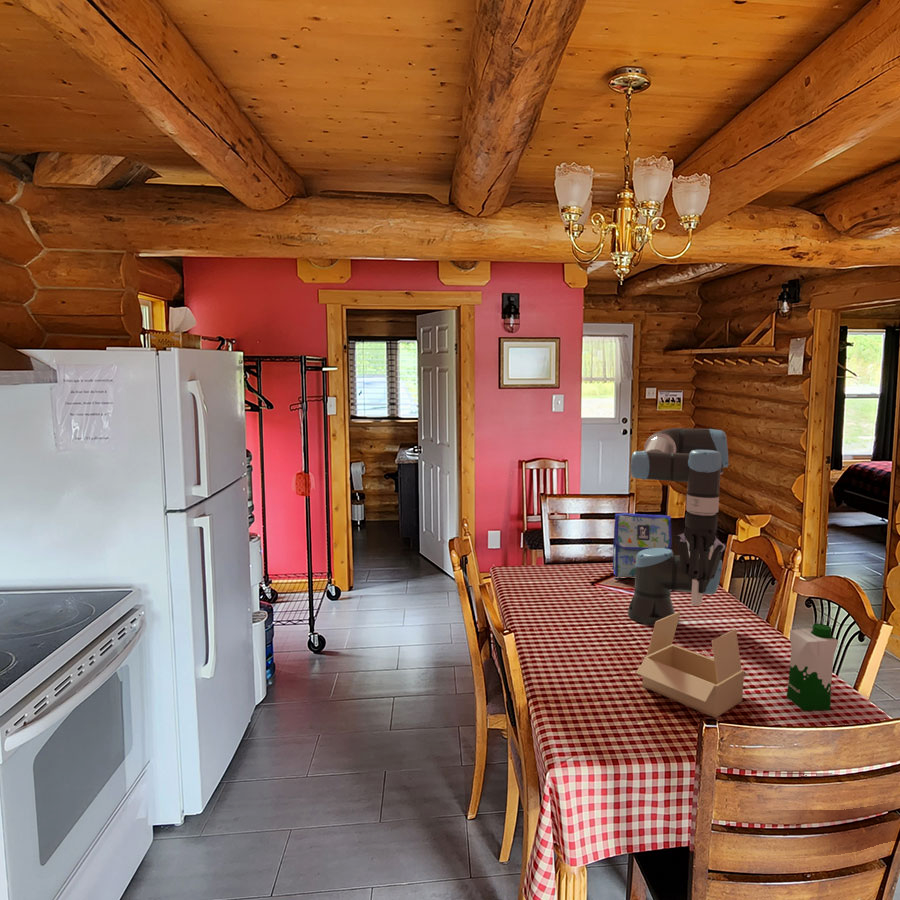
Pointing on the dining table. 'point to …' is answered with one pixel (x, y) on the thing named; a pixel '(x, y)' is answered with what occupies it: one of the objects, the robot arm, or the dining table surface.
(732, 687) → the carton
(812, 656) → the milk carton
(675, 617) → the flap
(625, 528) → the lunch bag
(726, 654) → the flap
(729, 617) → the dining table surface
